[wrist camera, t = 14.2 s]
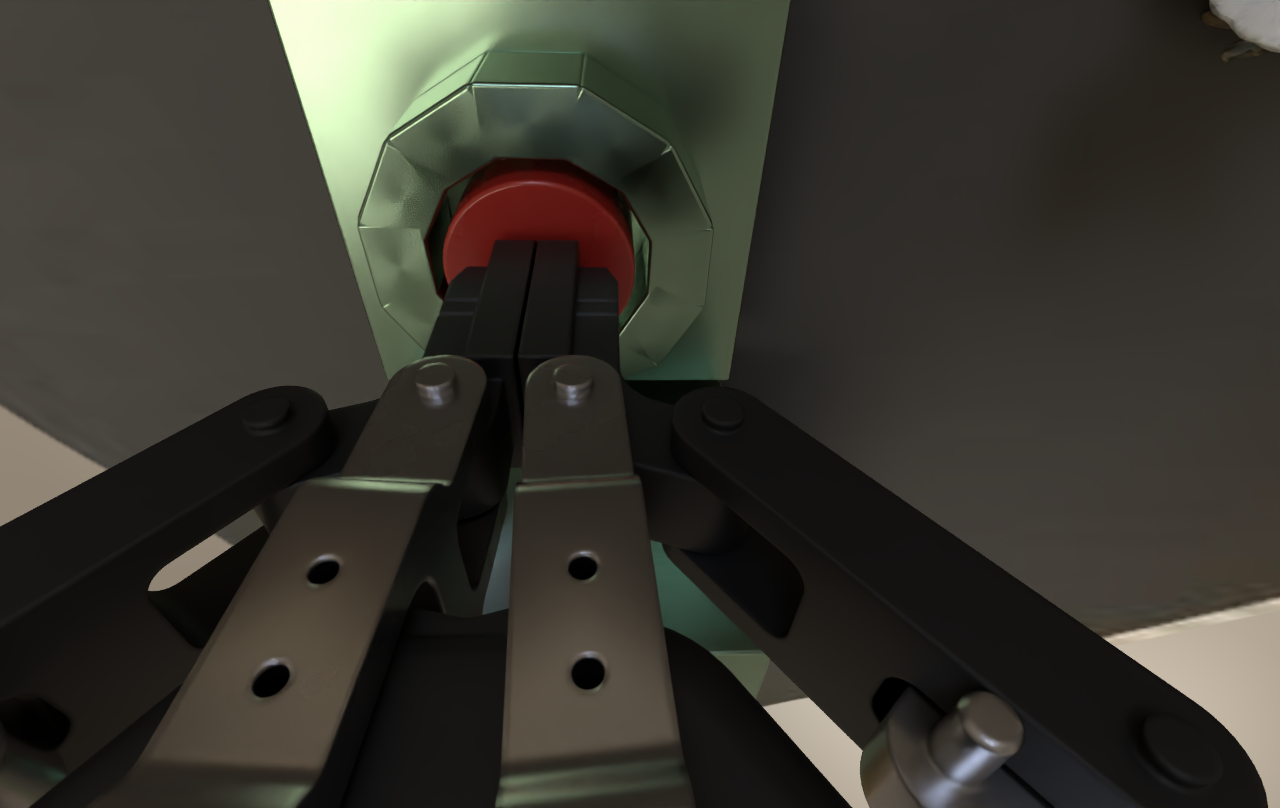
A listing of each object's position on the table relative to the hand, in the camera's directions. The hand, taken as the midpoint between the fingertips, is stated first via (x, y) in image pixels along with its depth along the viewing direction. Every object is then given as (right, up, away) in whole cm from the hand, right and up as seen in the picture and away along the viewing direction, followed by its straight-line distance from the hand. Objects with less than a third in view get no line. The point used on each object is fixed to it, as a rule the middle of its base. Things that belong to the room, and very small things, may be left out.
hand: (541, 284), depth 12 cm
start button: (0, +1, +1) cm, 2 cm away
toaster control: (0, +4, +4) cm, 5 cm away
